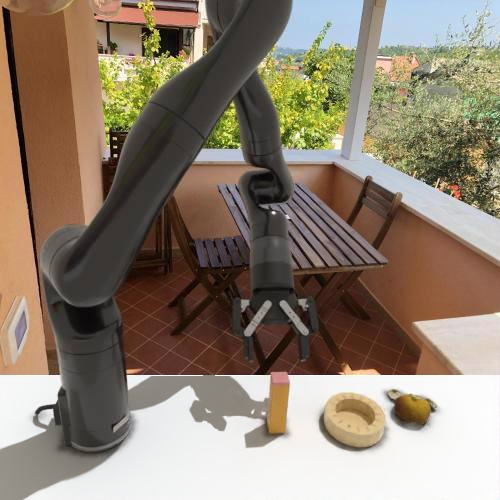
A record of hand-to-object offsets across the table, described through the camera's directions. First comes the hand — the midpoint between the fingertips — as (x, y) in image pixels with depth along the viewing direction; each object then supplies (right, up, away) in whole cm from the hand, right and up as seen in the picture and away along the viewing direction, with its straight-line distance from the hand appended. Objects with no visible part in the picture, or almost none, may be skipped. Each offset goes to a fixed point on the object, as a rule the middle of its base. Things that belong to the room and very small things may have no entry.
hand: (277, 361), depth 69 cm
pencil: (0, -11, +1) cm, 11 cm away
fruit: (+24, -10, +6) cm, 27 cm away
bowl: (+13, -11, +2) cm, 17 cm away
